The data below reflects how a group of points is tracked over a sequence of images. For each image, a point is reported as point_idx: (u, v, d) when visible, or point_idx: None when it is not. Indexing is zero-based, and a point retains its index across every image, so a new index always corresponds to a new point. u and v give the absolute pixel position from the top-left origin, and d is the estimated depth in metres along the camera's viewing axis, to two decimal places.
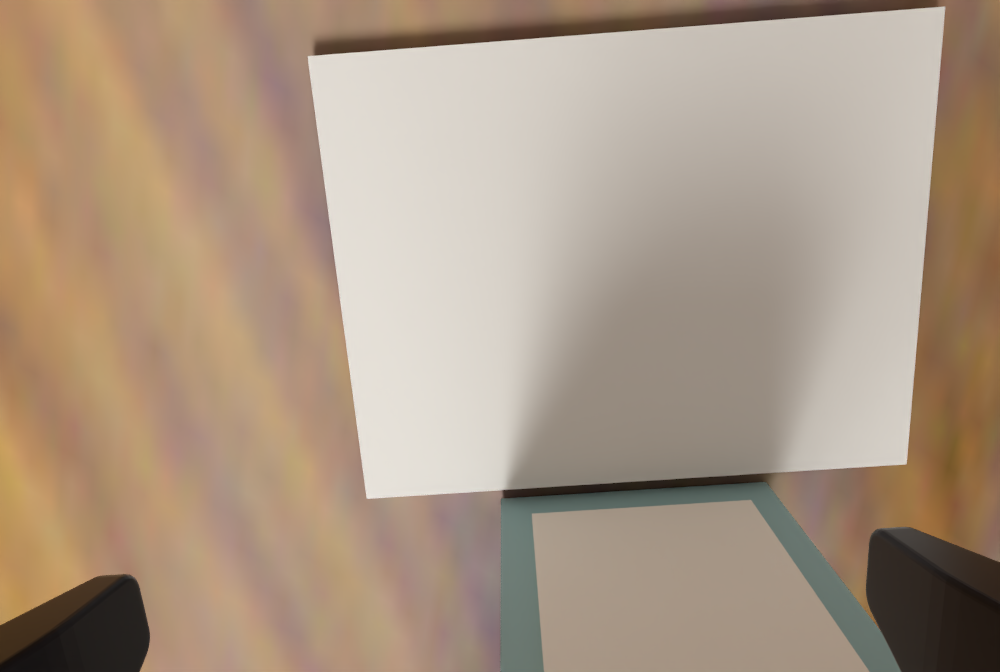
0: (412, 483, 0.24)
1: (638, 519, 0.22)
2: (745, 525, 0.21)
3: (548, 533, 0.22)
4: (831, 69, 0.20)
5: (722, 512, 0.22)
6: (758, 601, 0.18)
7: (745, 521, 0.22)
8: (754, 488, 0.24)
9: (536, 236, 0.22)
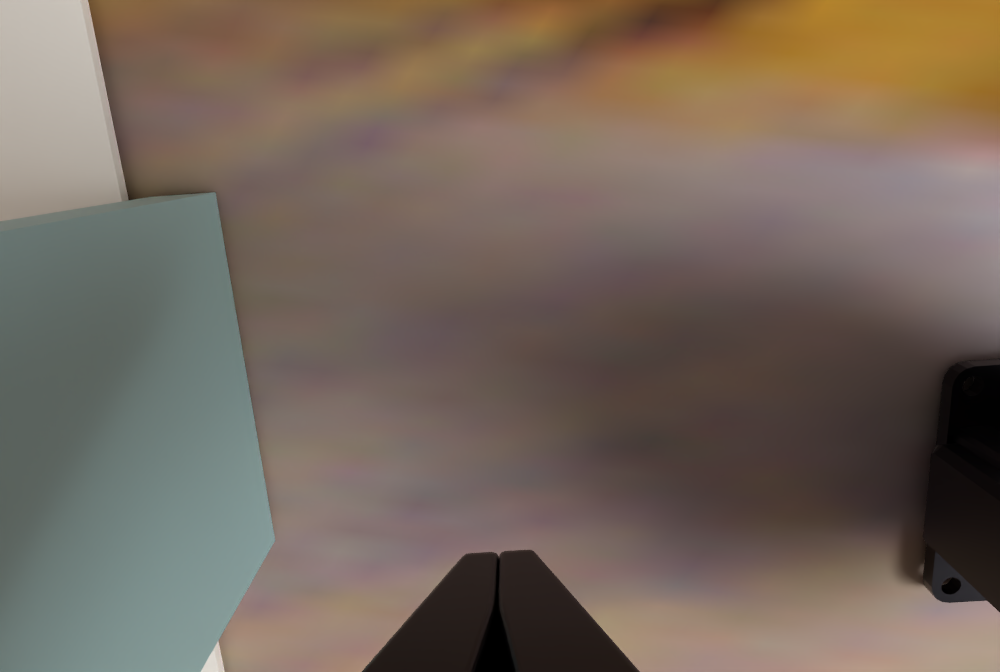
0: None
1: None
2: None
3: None
4: None
5: None
6: None
7: None
8: None
9: None
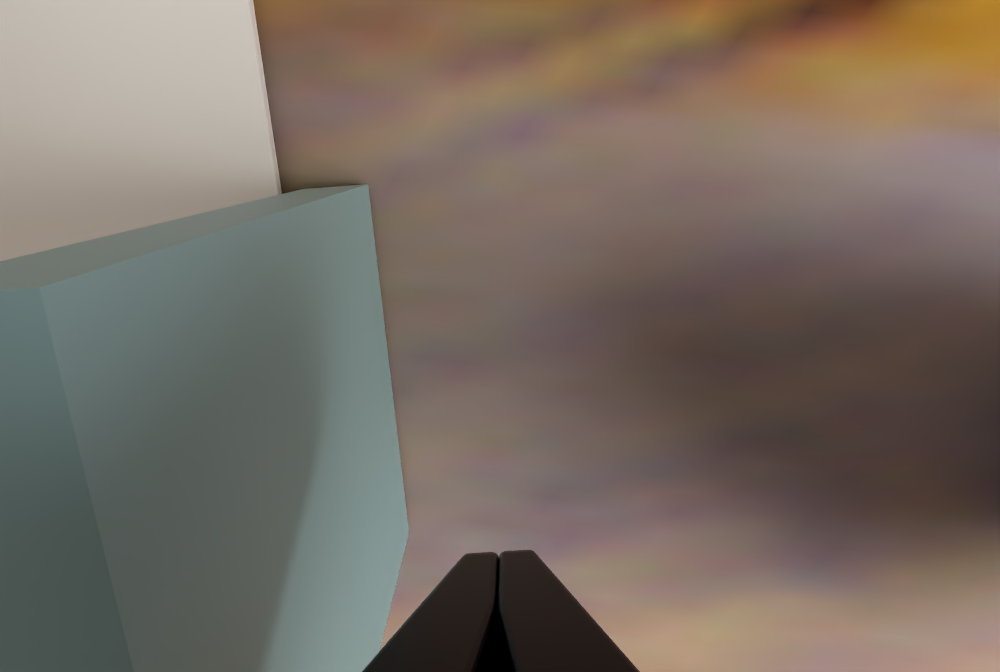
0: None
1: None
2: None
3: None
4: None
5: None
6: None
7: None
8: None
9: None
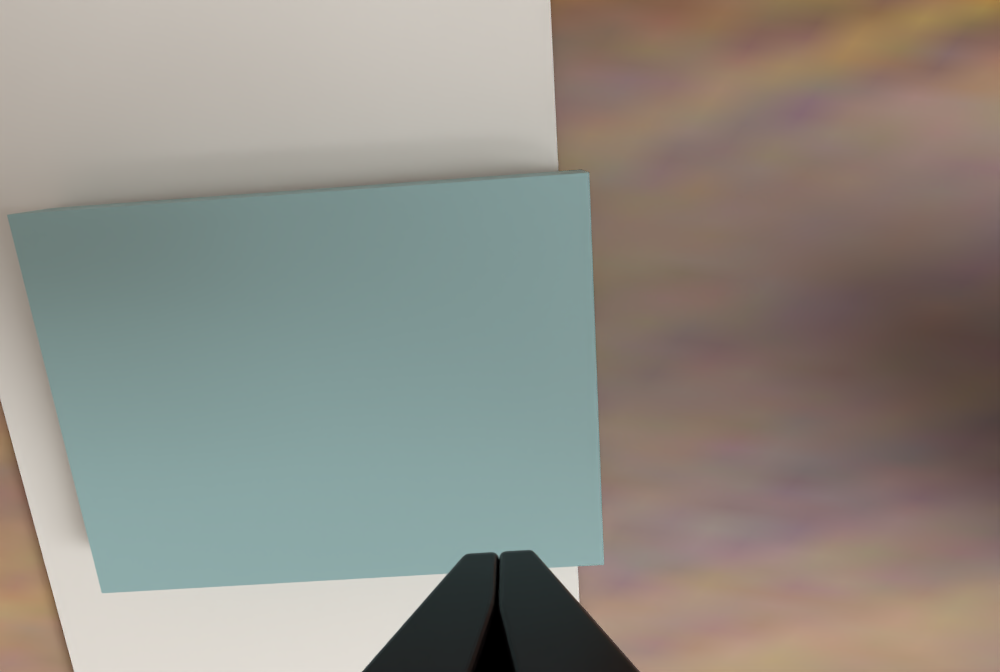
0: None
1: None
2: None
3: None
4: None
5: None
6: None
7: None
8: None
9: None
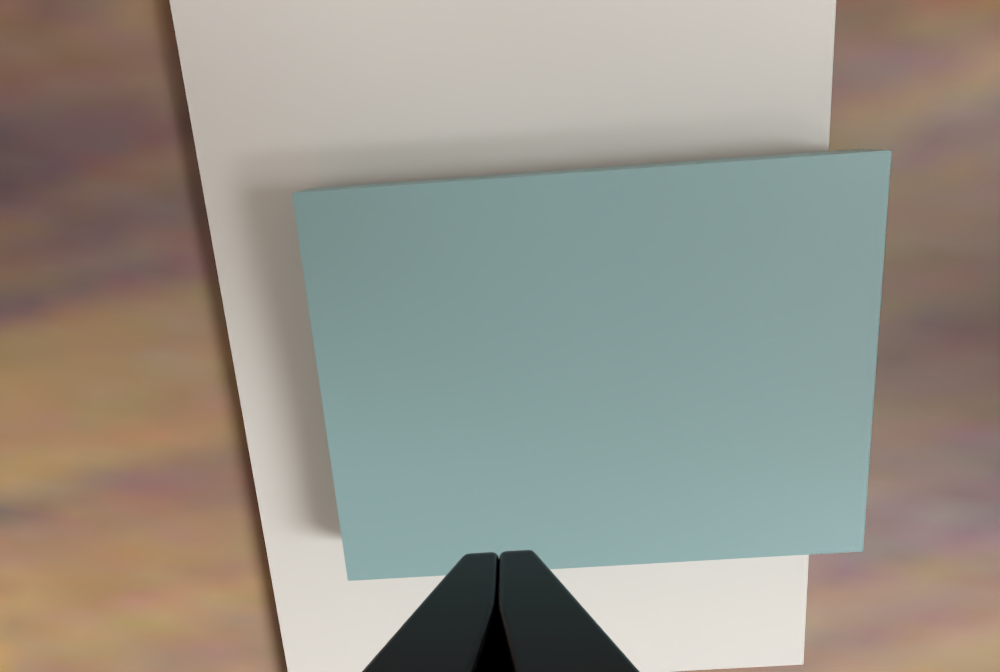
0: (788, 615, 0.19)
1: None
2: None
3: None
4: (256, 126, 0.16)
5: None
6: None
7: None
8: None
9: None
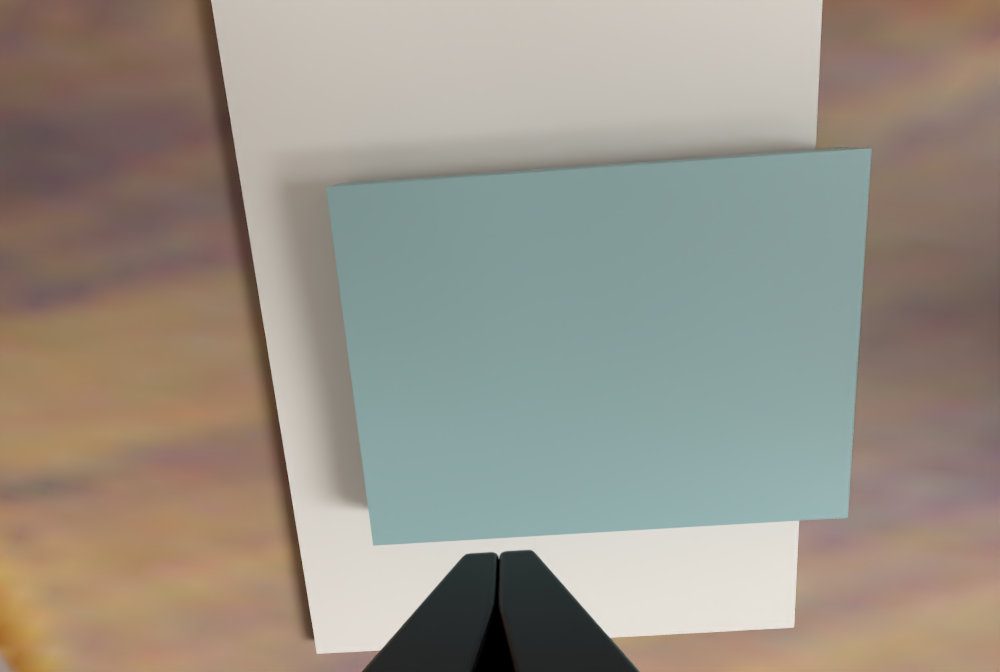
0: (779, 581, 0.20)
1: None
2: None
3: None
4: (291, 126, 0.17)
5: None
6: None
7: None
8: None
9: None
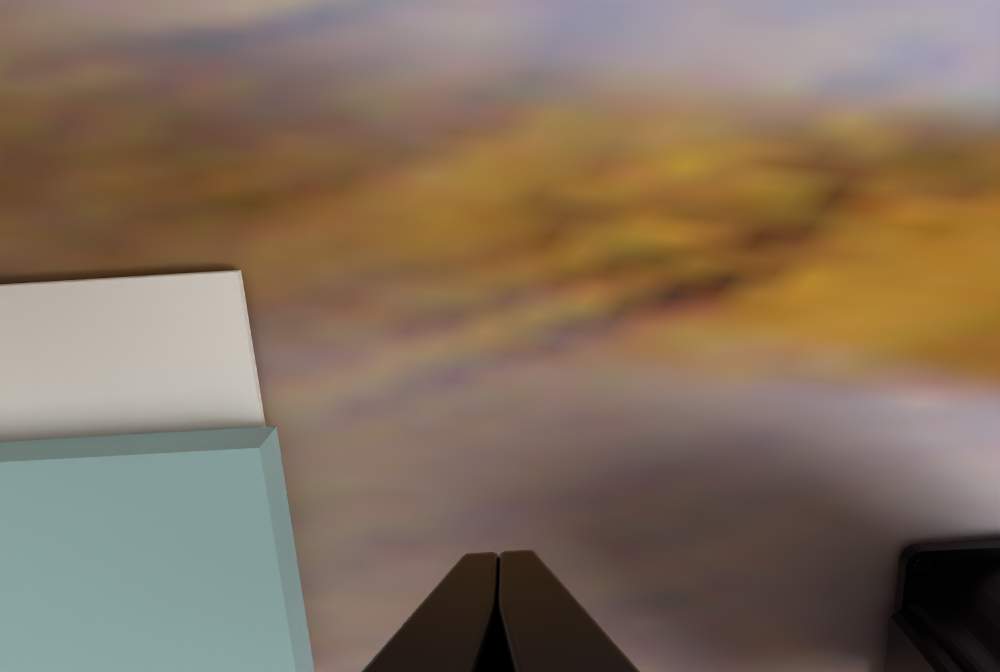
0: None
1: None
2: None
3: None
4: None
5: None
6: None
7: None
8: None
9: None
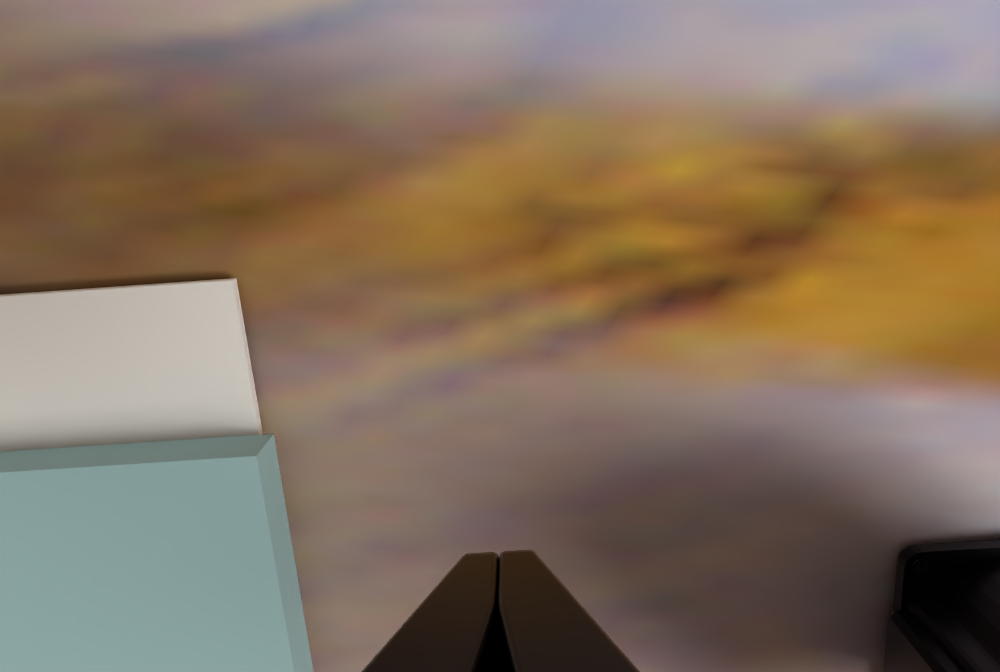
0: None
1: None
2: None
3: None
4: None
5: None
6: None
7: None
8: None
9: None
